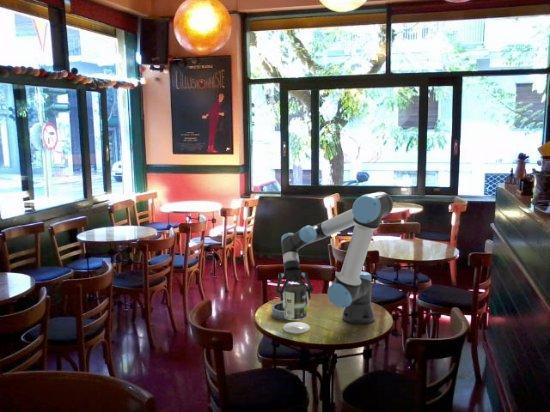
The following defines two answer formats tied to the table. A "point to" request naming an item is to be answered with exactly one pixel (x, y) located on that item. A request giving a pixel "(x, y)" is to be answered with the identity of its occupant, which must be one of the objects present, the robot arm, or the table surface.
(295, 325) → the saucer
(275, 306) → the ring collar
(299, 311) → the coffee can
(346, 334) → the table surface
